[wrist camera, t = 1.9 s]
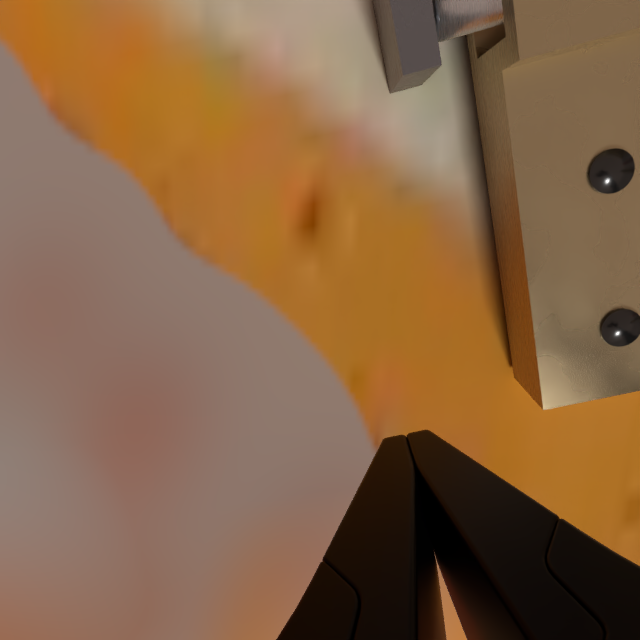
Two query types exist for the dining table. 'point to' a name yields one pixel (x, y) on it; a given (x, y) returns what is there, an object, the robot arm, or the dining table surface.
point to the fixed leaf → (426, 33)
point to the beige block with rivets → (565, 190)
